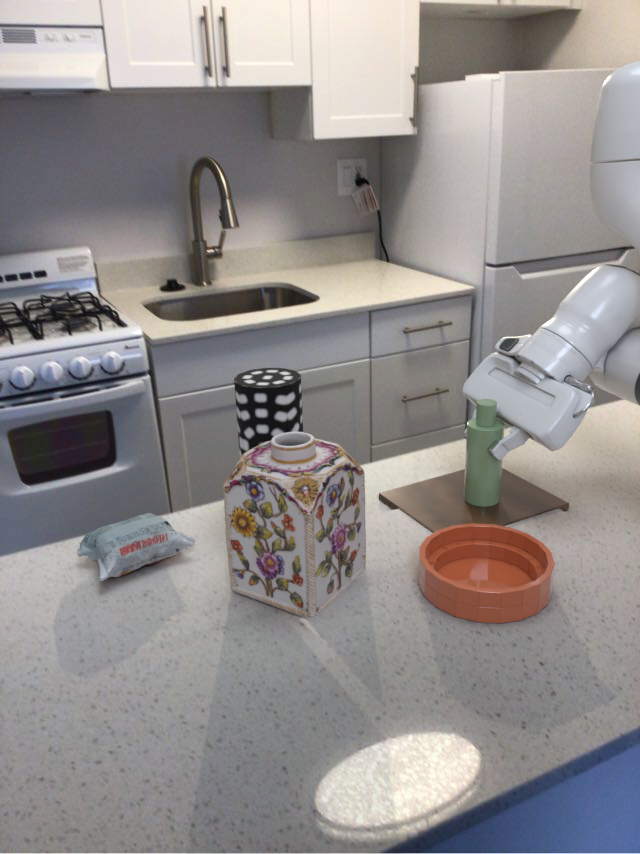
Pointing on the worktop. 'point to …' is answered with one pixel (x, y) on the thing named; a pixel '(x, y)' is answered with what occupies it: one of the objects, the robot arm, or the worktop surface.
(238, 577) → the decorative jar
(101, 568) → the packaged food
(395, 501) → the board
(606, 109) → the robot arm
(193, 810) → the worktop surface
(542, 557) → the bowl
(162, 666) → the worktop surface
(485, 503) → the bottle
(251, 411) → the spotted tube
